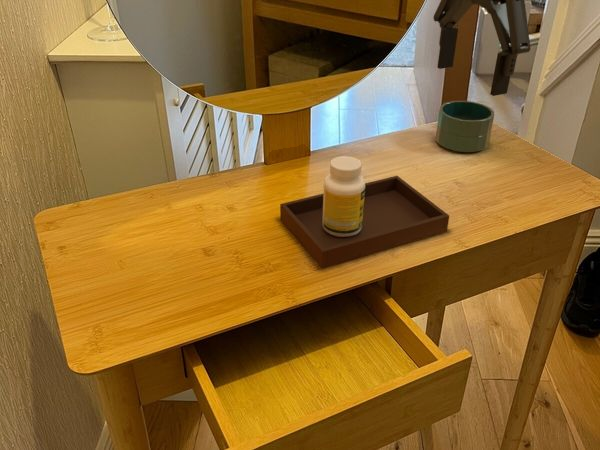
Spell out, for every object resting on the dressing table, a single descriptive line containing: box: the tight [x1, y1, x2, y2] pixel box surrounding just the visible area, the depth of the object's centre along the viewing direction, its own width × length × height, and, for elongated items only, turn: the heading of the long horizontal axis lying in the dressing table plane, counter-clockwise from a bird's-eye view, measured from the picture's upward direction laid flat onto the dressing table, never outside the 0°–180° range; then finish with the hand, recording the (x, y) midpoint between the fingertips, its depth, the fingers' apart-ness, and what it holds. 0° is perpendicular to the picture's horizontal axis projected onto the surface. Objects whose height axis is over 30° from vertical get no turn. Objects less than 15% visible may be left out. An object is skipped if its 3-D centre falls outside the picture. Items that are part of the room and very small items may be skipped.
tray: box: [279, 175, 450, 269], centre depth 85 cm, size 19×13×3 cm, turn 116°
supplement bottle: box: [322, 155, 366, 237], centre depth 82 cm, size 5×5×10 cm
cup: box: [435, 100, 495, 153], centre depth 107 cm, size 9×9×6 cm
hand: (470, 80), depth 103 cm, fingers open, 13 cm apart
